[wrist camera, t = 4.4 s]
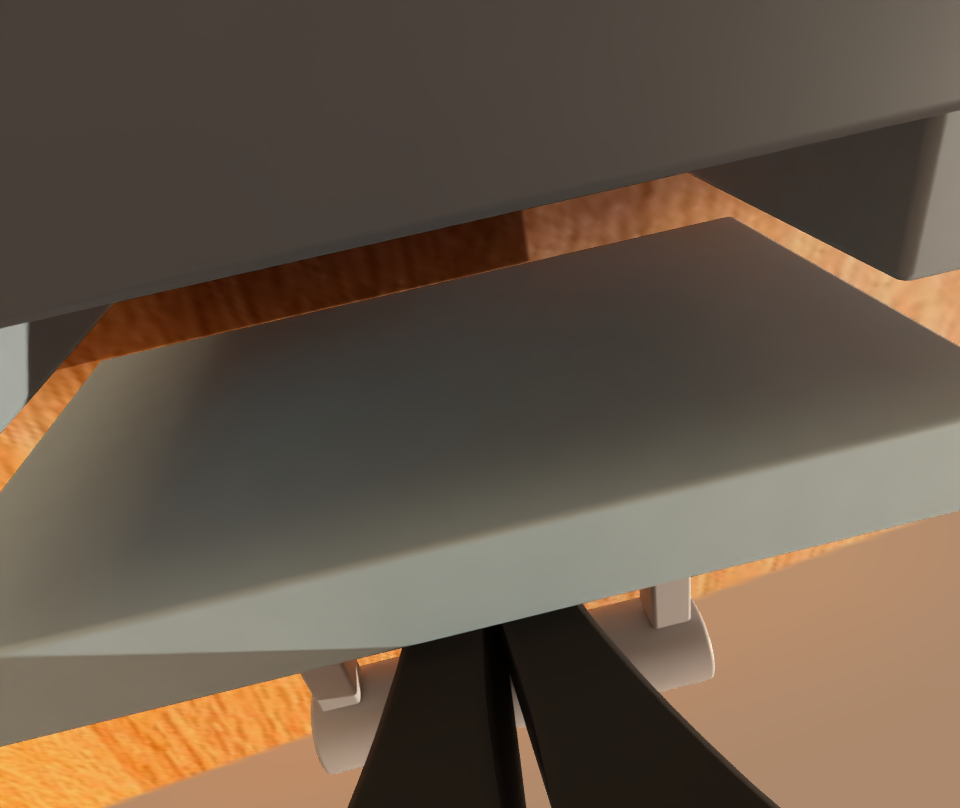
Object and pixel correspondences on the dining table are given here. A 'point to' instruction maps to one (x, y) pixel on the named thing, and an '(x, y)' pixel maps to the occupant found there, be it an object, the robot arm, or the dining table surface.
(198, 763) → the dining table surface
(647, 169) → the box
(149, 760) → the dining table surface
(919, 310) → the dining table surface
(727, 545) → the tray
